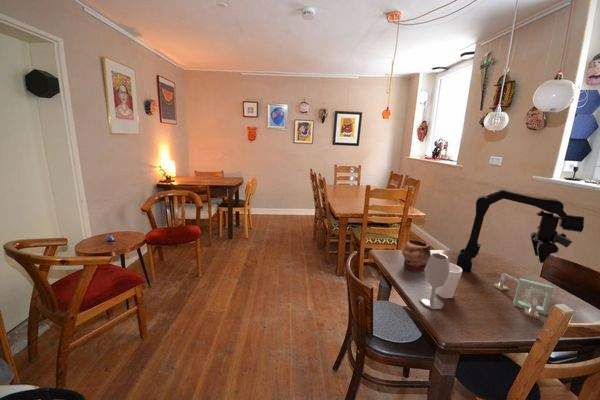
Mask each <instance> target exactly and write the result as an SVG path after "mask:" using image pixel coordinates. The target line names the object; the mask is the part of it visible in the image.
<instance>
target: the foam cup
mask: <svg viewBox="0 0 600 400" xmlns="http://www.w3.org/2000/svg"><path fill="white" fill-rule="evenodd" d="M462 273H463V271H462V269H461V268H460V267H459V266H457V265H456V263H455V264H454V263H452V262H449V275H448V278H447V280H446V282H445V284H444V285H443V286H440V287H437V288H436V290H435V294H437V295H438V296H440V297H441V298H443V299H447V298H451V299H453V297H454V294H455V292H456V289H457V286H458V284H459V282H460V278H462Z"/></svg>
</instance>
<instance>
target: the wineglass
mask: <svg viewBox="0 0 600 400" xmlns="http://www.w3.org/2000/svg"><path fill="white" fill-rule="evenodd" d="M449 263H450V259H449V257H448V256H447V255H445V254H443V253H440V252H432V253H431V256H430V257H429V259H428V262H427V265H426V267H425V269H424V279H425V281H426V282H427V283H428V284H429V285H430V287H431V291H430V295H422V296H421V297H420V298H419V300H418V301H419V303H421V304H422V305H423V306H424V307H426V308H429V309H432V310H442V308H443V307H444V303H443V302H442V301H441V300H440V299H439V298H437V297H435V295H436V288H437V287H440V286H443V285H444V284H445V282H446V280H447V278H448V275H449Z"/></svg>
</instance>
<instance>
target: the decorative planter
mask: <svg viewBox="0 0 600 400" xmlns="http://www.w3.org/2000/svg"><path fill="white" fill-rule="evenodd" d="M401 254H402V256H403V258H404V260H403V261H404V262H403V267H404V268H406V269H407V270H409V271H412V272H416V273H420V272H424V271H425V268H426V265H427V262H428V259H429V257H430V256H431V254H432V253H431V245H430V244H429V243H426V242H424V241H421V240H416V239H409V240H408V241H407V242H406V245H405V247H403V248H402V250H401Z"/></svg>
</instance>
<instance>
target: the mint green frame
mask: <svg viewBox="0 0 600 400" xmlns="http://www.w3.org/2000/svg"><path fill="white" fill-rule="evenodd" d="M518 280H519V282H518V283H517V287H516V291H515V295H514V299H513V301H512V303H513V306H514V307H518V308H521V309H524V308H526V309H530V307H531V303H529V302H526V301H522V300H520V295H521V292H522V287H524V286H527V287H531V288H533V289H534V290H539V291H542V292H543V291H544V292H545V296H544V300H543V303H542V306H540V305H537V307H536V310H535V311H537V312H538V314H541V315H545V316H546V315H547V312H548V307H549V305H550V301H551V298H552V293H553V291H554V287H553V286H552V285H549V284H545V283H542V282H537V281H533V280H528V279H525V278H521V277H519V279H518ZM522 285H523V286H522Z"/></svg>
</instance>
